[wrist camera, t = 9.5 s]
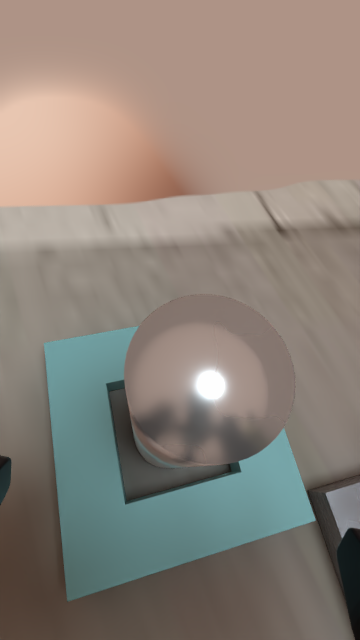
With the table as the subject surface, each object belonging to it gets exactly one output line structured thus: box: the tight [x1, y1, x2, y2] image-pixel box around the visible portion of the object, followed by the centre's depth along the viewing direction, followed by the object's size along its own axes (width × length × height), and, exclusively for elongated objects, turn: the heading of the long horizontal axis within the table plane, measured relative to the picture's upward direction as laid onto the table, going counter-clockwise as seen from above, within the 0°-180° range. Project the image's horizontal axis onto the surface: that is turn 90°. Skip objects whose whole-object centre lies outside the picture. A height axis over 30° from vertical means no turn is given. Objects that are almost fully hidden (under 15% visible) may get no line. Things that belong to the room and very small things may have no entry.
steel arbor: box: [124, 294, 296, 469], centre depth 14 cm, size 4×4×13 cm
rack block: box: [44, 326, 316, 602], centre depth 19 cm, size 12×12×2 cm
